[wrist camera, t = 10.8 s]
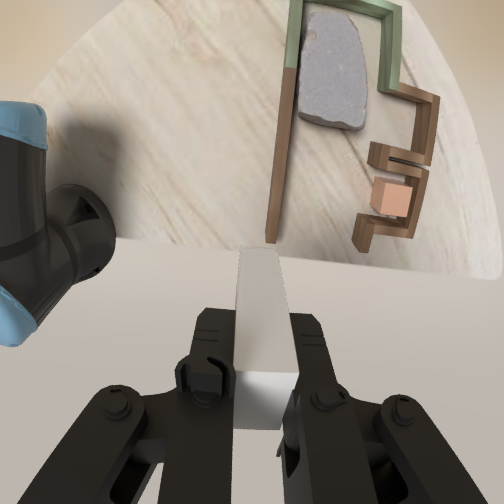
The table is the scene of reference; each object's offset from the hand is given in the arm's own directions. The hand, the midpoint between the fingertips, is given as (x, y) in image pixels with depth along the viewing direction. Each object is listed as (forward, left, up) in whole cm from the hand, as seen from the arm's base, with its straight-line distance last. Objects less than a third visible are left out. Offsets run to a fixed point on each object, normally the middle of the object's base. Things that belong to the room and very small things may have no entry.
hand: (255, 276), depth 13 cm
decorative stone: (+7, +13, -27) cm, 30 cm away
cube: (+17, -1, -27) cm, 32 cm away
